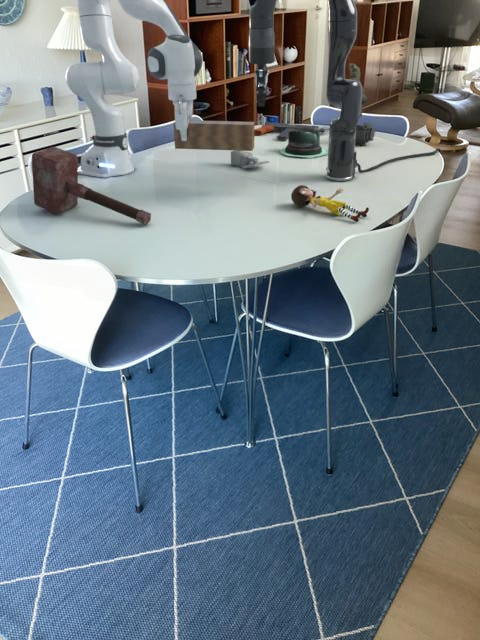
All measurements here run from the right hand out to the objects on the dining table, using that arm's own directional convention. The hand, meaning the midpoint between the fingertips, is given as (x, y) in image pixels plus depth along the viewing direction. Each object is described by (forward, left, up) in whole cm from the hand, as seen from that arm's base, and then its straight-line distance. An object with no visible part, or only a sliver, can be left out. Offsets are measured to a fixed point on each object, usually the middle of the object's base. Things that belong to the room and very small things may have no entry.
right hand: (261, 103), depth 171 cm
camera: (-14, -34, -29) cm, 47 cm away
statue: (-90, -62, -29) cm, 113 cm away
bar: (+11, -11, -14) cm, 21 cm away
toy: (-73, -41, -29) cm, 89 cm away
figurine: (-9, +24, -29) cm, 39 cm away
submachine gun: (-57, -73, -29) cm, 98 cm away
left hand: (+19, -17, -11) cm, 28 cm away
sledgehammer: (+54, -11, -29) cm, 62 cm away
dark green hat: (-46, -41, -29) cm, 68 cm away
